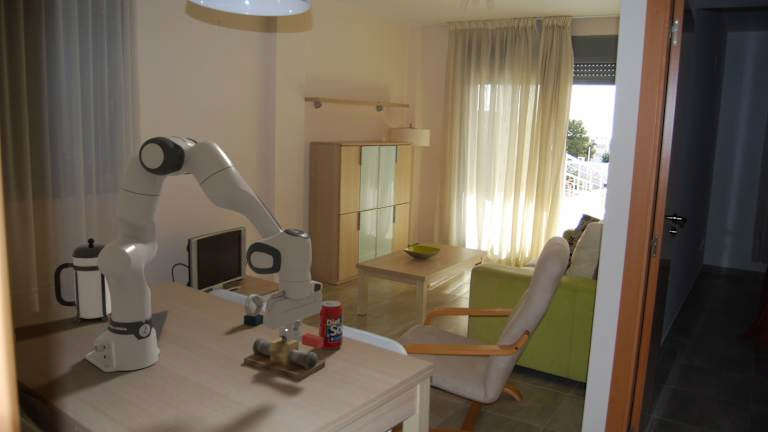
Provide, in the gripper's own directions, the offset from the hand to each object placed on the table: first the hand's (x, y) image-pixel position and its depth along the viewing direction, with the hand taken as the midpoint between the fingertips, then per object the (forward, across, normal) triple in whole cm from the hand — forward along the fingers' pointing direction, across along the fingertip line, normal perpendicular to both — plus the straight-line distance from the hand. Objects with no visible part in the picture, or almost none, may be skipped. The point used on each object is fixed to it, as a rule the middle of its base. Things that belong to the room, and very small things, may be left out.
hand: (293, 335), depth 161 cm
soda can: (+14, +28, +9) cm, 33 cm away
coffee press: (+16, -4, +95) cm, 97 cm away
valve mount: (+14, +8, +11) cm, 20 cm away
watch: (+15, +28, +45) cm, 55 cm away
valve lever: (+5, +8, +5) cm, 11 cm away
